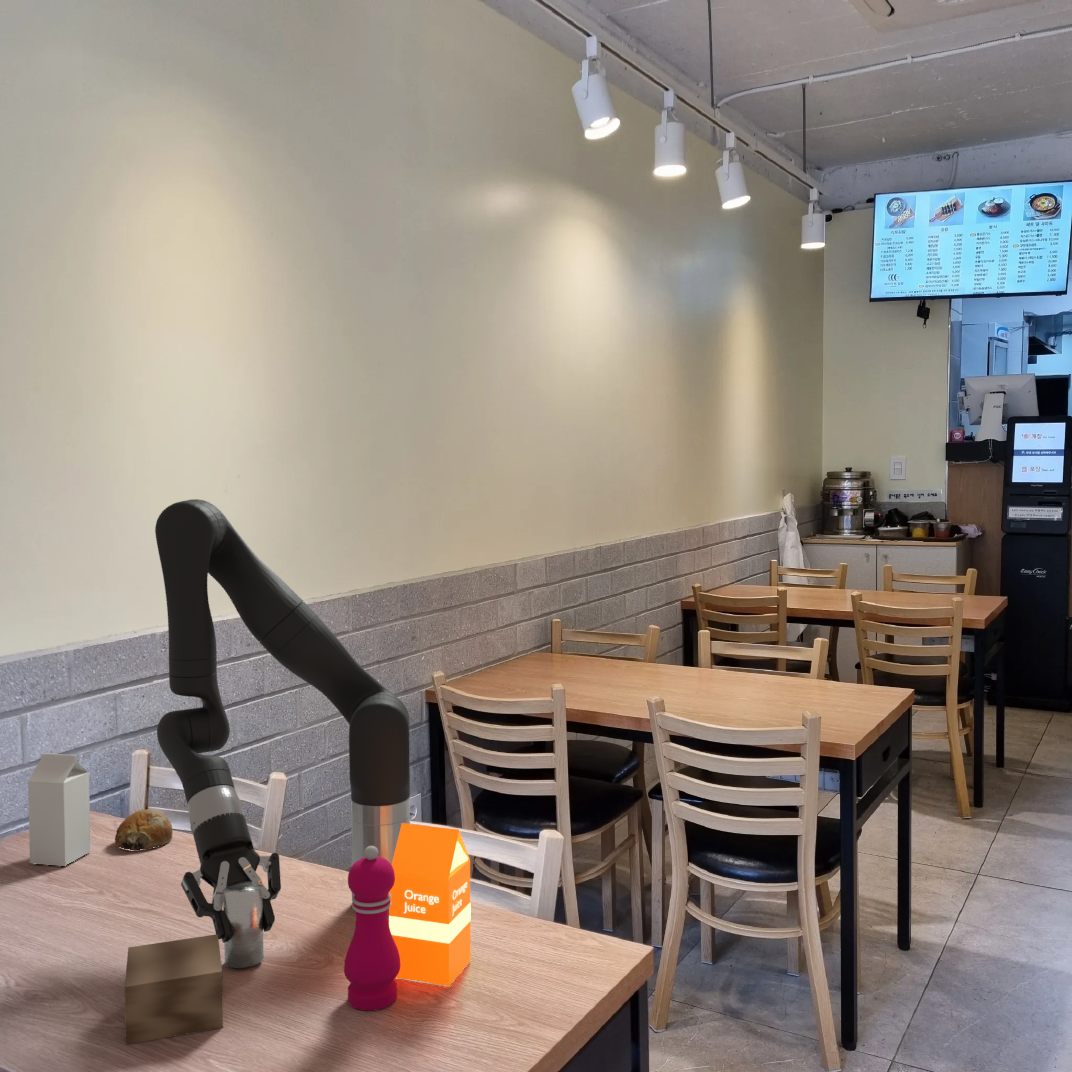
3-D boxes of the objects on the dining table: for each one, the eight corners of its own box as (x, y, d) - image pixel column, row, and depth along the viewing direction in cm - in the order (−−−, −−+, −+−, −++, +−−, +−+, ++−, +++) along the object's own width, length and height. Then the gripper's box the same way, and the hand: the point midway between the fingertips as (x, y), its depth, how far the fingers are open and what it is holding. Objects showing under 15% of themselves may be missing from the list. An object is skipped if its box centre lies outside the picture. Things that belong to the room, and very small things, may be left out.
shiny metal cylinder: (262, 947, 142) (260, 878, 141) (265, 964, 137) (263, 892, 136) (223, 953, 140) (222, 884, 139) (225, 970, 135) (223, 898, 135)
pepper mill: (375, 1019, 123) (373, 860, 123) (332, 1003, 127) (330, 849, 126) (412, 994, 130) (411, 843, 129) (370, 980, 133) (368, 833, 133)
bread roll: (176, 861, 187) (190, 818, 189) (132, 854, 179) (148, 809, 181) (142, 852, 192) (157, 810, 195) (99, 843, 184) (114, 800, 187)
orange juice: (449, 988, 131) (448, 839, 130) (388, 978, 134) (387, 832, 133) (471, 962, 139) (470, 820, 138) (414, 953, 141) (412, 814, 140)
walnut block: (218, 986, 132) (218, 934, 132) (222, 1027, 122) (222, 971, 121) (129, 1000, 128) (128, 947, 128) (125, 1044, 118) (124, 987, 118)
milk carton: (65, 867, 174) (62, 760, 173) (29, 865, 176) (26, 758, 175) (91, 853, 181) (88, 750, 180) (56, 850, 183) (54, 748, 182)
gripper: (173, 821, 140) (200, 936, 130) (272, 802, 148) (305, 908, 138) (164, 847, 144) (190, 960, 135) (260, 827, 152) (291, 932, 143)
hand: (248, 933), depth 137 cm, fingers closed on shiny metal cylinder, 5 cm apart
